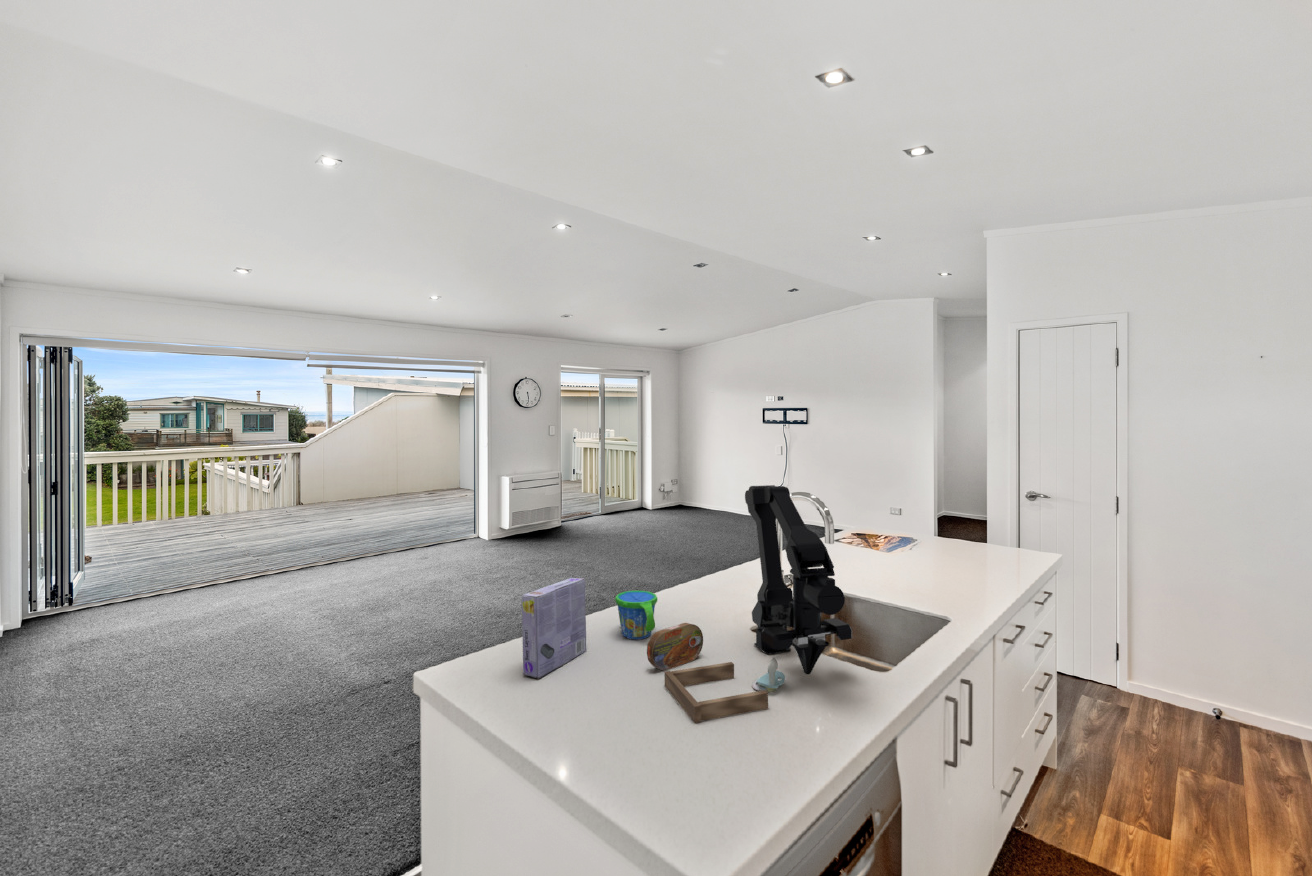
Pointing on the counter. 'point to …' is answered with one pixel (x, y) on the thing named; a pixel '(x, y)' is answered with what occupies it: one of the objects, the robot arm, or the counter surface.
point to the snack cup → (636, 613)
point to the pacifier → (770, 678)
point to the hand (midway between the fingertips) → (807, 673)
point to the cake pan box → (553, 626)
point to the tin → (674, 646)
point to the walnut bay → (715, 706)
